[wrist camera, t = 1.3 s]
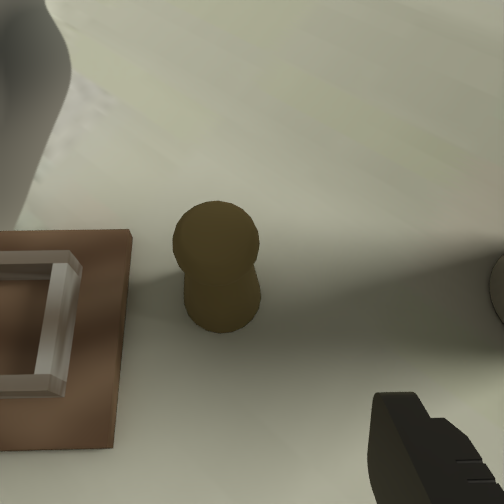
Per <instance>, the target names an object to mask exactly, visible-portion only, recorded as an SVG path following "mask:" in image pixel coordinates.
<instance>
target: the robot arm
mask: <svg viewBox="0 0 504 504" xmlns="http://www.w3.org/2000/svg"><path fill="white" fill-rule="evenodd" d="M489 288H490V294H491V300H492V303H493V305H494V308H495V310H496V312H497V314H498V316H499V317H500V319H501V321H502V322H503V323H504V255H503V256H502V257H501V258H499V260H498V261H497V263H496V264H495V266H494V267H493V270H492V273H491V276H490V287H489ZM367 463H368V473H369V479H370V483H371V487H372V490H373V493H374V496H375V499H376V502H377V504H504V491H503V490H502V488H501V486H500V485H499V483H497V484H496V482H495V477H494V476H493V474H492V473H491V471H490V470H489V468H488V467H487V465H486V464H483V462H482V458H481V456H480V455H479V453H478V452H477V450H476V449H475V447H474V446H473V444H472V443H471V441H470V440H469V438H468V437H467V436H466V435H465V434H464V433H463V432H461V431H460V430H459V429H458V428H456V427H455V426H454V425H453V424H451V423H450V422H449V421H448V420H446V419H445V418H430V416H429V414H428V413H427V411H426V409H425V408H424V406H423V404H422V403H421V401H420V399H419V397H418V396H417V394H416V393H414V392H381V393H375V395H374V397H373V402H372V412H371V422H370V432H369V442H368V453H367Z"/></svg>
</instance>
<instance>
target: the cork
mask: <svg viewBox="0 0 504 504" xmlns="http://www.w3.org/2000/svg"><path fill="white" fill-rule="evenodd" d="M259 244H260V243H259V235H258V230H257V228H256V226H255V225H254V223H253V221H252V219H251V217H250V216H249V215H248V214H247V213H246V212H245V211H244V210H243V209H241V208H240V207H238V206H236V205H234V204H232V203H227V202H222V201H210V202H205V203H202V204H199V205H196V206H194V207H193V208H191V209H190V210H189V211H187V212H186V213H185V214H184V215H183V216H182V217H181V219H180V220H179V222H178V223H177V225H176V228H175V231H174V235H173V253H174V255H175V258H176V260H177V263H178V265H179V267H180V268H181V269H182V270H183V271H184V273H185V277H184V305H185V308H186V310H187V313H188V315H189V317H190V318H191V319H192V320H193V321H194V322H195V323H196V325H198V326H200V327H202V328H203V329H205V330H207V331H211V332H215V333H228V332H233V331H235V330H238V329H240V328H242V327H244V326H245V325H246V324H248V323H249V322H250V321H251V320H252V319H253V318H254V316H255V314H256V312H257V311H258V309H259V305H260V300H261V293H260V286H259V282H258V279H257V275H256V271H255V268H254V263H255V261H256V259H257V255H258V250H259Z"/></svg>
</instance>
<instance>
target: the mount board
mask: <svg viewBox="0 0 504 504" xmlns="http://www.w3.org/2000/svg"><path fill="white" fill-rule="evenodd" d="M132 240H133V237H132V235H131V233H130V231H129V229H110V230H39V231H0V451H29V450H67V449H104V448H113V443H114V432H115V422H116V411H117V400H118V390H119V379H120V368H121V357H122V347H123V336H124V325H125V315H126V304H127V293H128V282H129V272H130V261H131V250H132Z"/></svg>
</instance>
